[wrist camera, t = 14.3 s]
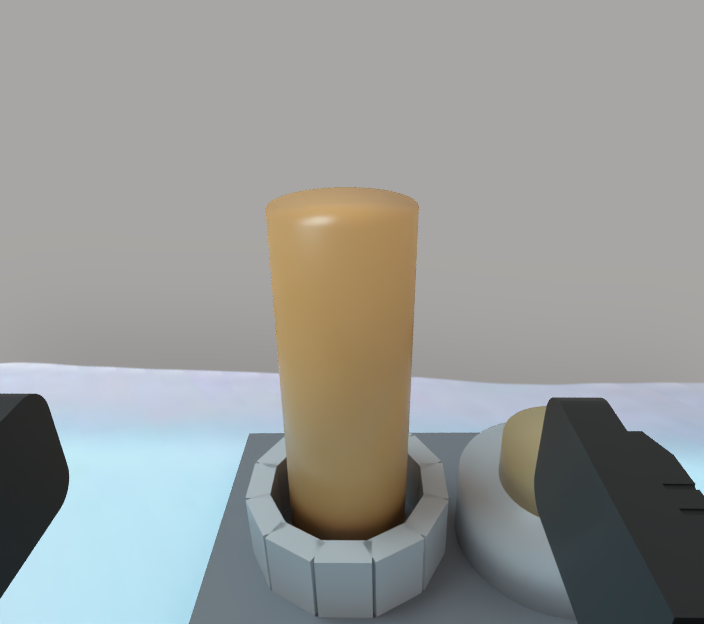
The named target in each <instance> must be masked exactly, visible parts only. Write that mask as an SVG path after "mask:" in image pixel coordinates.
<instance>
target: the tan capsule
mask: <svg viewBox="0 0 704 624" xmlns="http://www.w3.org/2000/svg"><path fill="white" fill-rule="evenodd" d="M418 211H419V206H418V203H417V202H416V201H415V200H413V199H412V198H410V197H408V196H406V195H403V194H400V193H396V192H392V191H387V190H380V189H372V188H356V187H335V188H321V189H312V190H305V191H299V192H295V193H291V194H287V195H284V196H281V197H279V198H276V199H274V200H272V201H271V202H270V203H269V204H268V205H267V206H266V219H267V232H268V243H269V255H270V267H271V278H272V291H273V302H274V315H275V326H276V339H277V351H278V362H279V375H280V387H281V399H282V411H283V423H284V434H285V446H286V458H287V470H288V482H289V494H290V506H291V518H292V526H294V527H296V528H298V529H300V530H302V531H304V532H306V533H308V534H310V535H312V536H314V537H316V538H318V539H320V540H369V539H371V538H373V537H375V536H377V535H380V534H382V533H384V532H386V531H388V530H390V529H393V528H395V527H397V526H399V525H401V524H403V523H405V505H406V482H407V460H408V437H409V414H410V392H411V368H412V346H413V323H414V302H415V278H416V255H417V233H418Z"/></svg>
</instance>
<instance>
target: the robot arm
mask: <svg viewBox="0 0 704 624" xmlns="http://www.w3.org/2000/svg"><path fill="white" fill-rule="evenodd" d="M68 485H69V470H68V466H67V462H66V459H65V456H64V453H63V450H62V447H61V444H60V441H59V437H58V434H57V431H56V428H55V425H54V422H53V419H52V416H51V412H50V409H49V406H48V404H47V402H46V400H45V399H44V398H43V397H42V396H40V395H38V394H0V598H1V597H2V595H3V594H4V592H5V591H6V589H7V588H8V586H9V585H10V583H11V582H12V580H13V579H14V577H15V576H16V574H17V573H18V571H19V570H20V568H21V567H22V565H23V564H24V562H25V561H26V559H27V558H28V556H29V555H30V553H31V552H32V550H33V549H34V547H35V546H36V544H37V543H38V541H39V540H40V538H41V537H42V535H43V534H44V532H45V531H46V529H47V528H48V526H49V525H50V523H51V522H52V520H53V519H54V517H55V516H56V514H57V513H58V511H59V510H60V508H61V506H62V505H63V503H64V500H65V498H66V495H67V491H68ZM534 493H535V501H536V506H537V511H538V514H539V517H540V520H541V523H542V525H543V528H544V531H545V534H546V537H547V539H548V542H549V545H550V548H551V550H552V553H553V556H554V559H555V562H556V564H557V567H558V570H559V573H560V575H561V578H562V581H563V584H564V587H565V589H566V592H567V595H568V598H569V600H570V603H571V606H572V609H573V612H574V614H575V617H576V620H577V623H578V624H704V495H703V494H702V493H701V491H700V490H696V489H695V483H694V482H693V480H692V479H691V478H690V476H689V475H688V474H687V472H686V471H685V470H684V468H683V467H682V466H681V464H680V463H679V462H678V460H677V459H676V458H675V456H674V455H673V454H671V453H670V452H669V451H667V450H666V449H665V448H663V447H662V446H661V445H659V444H658V443H657V442H655V441H654V440H653V439H651V438H650V437H649V436H647V435H646V434H645V433H643V432H642V431H627V430H626V429H625V427H624V426H623V424H622V423H621V421H620V420H619V418H618V417H617V415H616V414H615V412H614V411H613V409H612V408H611V406H610V405H609V403H608V402H607V401H606V400H605V399H603V398H551V399H550V400H549V402H548V404H547V407H546V411H545V417H544V422H543V428H542V434H541V439H540V445H539V451H538V456H537V462H536V468H535V474H534Z"/></svg>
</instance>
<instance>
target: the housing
mask: <svg viewBox="0 0 704 624" xmlns="http://www.w3.org/2000/svg"><path fill="white" fill-rule="evenodd" d="M546 407H547V406H542V407H534V408H529V409H526V410H523V411H520V412H518V413H516V414H515V415H513V416H512V417H511V418H510V419H509V420H508V421H507V422H506V423H502V424H498V425H496V426H493V427H490V428H488V429H486V430H484V431H482V432H481V433H409V437H408V460H407V482H406V505H405V523H403V524H401V525H399V526H397V527H395V528H393V529H390V530H388V531H386V532H384V533H382V534H380V535H377V536H375V537H373V538H371V539H369V540H320V539H318V538H316V537H314V536H312V535H310V534H308V533H306V532H304V531H302V530H300V529H298V528H296V527H294V526H292V518H291V506H290V494H289V482H288V470H287V458H286V446H285V434H284V433H257V434H249V436H248V439H247V443H246V446H245V449H244V452H243V455H242V458H241V462H240V465H239V468H238V471H237V474H236V477H235V480H234V484H233V487H232V490H231V493H230V496H229V499H228V502H227V506H226V509H225V512H224V515H223V518H222V521H221V525H220V528H219V531H218V534H217V537H216V540H215V543H214V547H213V550H212V553H211V556H210V559H209V562H208V565H207V569H206V572H205V575H204V578H203V581H202V584H201V588H200V591H199V594H198V597H197V600H196V603H195V606H194V610H193V613H192V616H191V619H190V622H189V624H578V623H577V620H576V617H575V614H574V612H573V609H572V606H571V603H570V600H569V598H568V595H567V592H566V589H565V587H564V584H563V581H562V578H561V575H560V573H559V570H558V567H557V564H556V562H555V559H554V556H553V553H552V550H551V548H550V545H549V542H548V539H547V537H546V534H545V531H544V528H543V525H542V523H541V520H540V517H539V514H538V511H537V506H536V501H535V493H534V474H535V468H536V462H537V456H538V451H539V445H540V439H541V434H542V428H543V422H544V417H545V411H546Z"/></svg>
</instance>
